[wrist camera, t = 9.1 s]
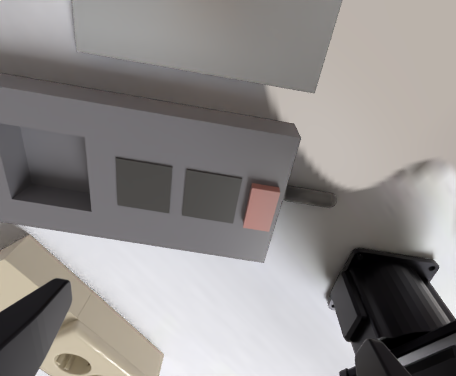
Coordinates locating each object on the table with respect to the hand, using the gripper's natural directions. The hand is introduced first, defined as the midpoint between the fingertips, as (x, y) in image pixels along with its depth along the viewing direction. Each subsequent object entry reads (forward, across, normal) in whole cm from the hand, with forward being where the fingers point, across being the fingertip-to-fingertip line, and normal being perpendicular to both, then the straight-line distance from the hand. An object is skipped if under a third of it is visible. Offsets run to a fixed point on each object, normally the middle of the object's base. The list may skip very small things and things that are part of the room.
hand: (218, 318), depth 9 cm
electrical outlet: (+12, +11, +19) cm, 25 cm away
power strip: (+12, +5, +2) cm, 13 cm away
